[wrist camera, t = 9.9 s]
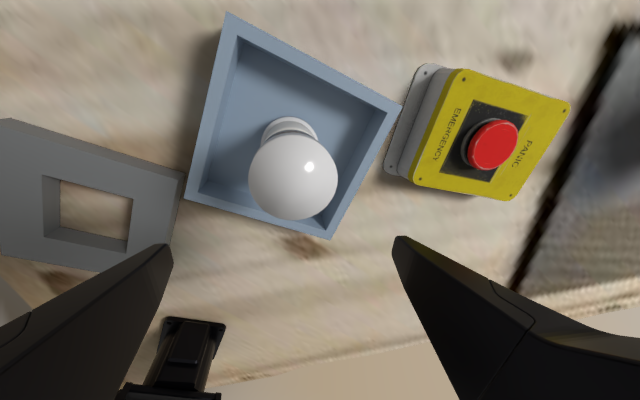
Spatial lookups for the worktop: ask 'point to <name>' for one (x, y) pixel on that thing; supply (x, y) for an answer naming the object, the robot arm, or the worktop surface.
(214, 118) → the parts tray
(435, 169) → the emergency button
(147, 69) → the worktop surface
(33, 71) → the worktop surface
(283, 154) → the frosted globe bulb
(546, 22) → the worktop surface
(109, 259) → the grey square frame
